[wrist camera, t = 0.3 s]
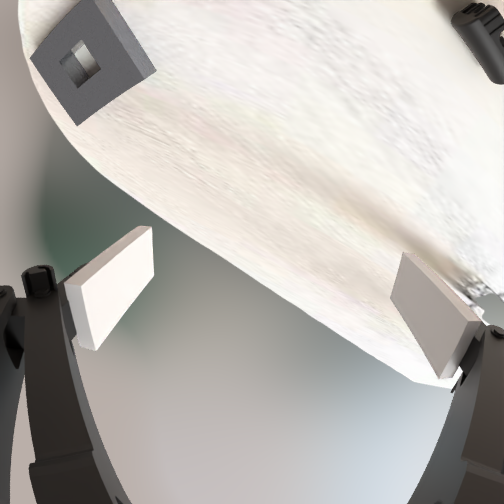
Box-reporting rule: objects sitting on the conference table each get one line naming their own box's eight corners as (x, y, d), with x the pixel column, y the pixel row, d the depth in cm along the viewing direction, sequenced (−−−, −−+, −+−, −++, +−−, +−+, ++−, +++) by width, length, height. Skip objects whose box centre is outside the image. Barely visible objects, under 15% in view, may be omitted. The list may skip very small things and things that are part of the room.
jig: (44, 50, 33) (29, 58, 31) (104, -10, 26) (89, -7, 23) (89, 115, 45) (77, 126, 43) (156, 70, 38) (144, 79, 35)
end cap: (442, 21, 23) (462, 28, 19) (471, -2, 18) (495, 4, 14) (480, 74, 26) (502, 90, 22) (508, 53, 21) (532, 67, 17)
